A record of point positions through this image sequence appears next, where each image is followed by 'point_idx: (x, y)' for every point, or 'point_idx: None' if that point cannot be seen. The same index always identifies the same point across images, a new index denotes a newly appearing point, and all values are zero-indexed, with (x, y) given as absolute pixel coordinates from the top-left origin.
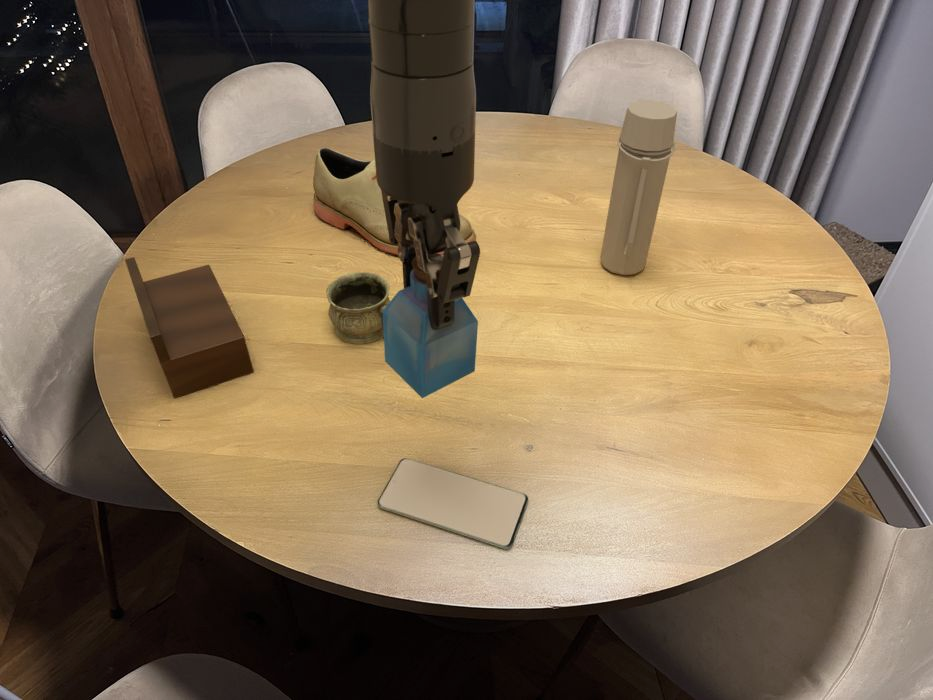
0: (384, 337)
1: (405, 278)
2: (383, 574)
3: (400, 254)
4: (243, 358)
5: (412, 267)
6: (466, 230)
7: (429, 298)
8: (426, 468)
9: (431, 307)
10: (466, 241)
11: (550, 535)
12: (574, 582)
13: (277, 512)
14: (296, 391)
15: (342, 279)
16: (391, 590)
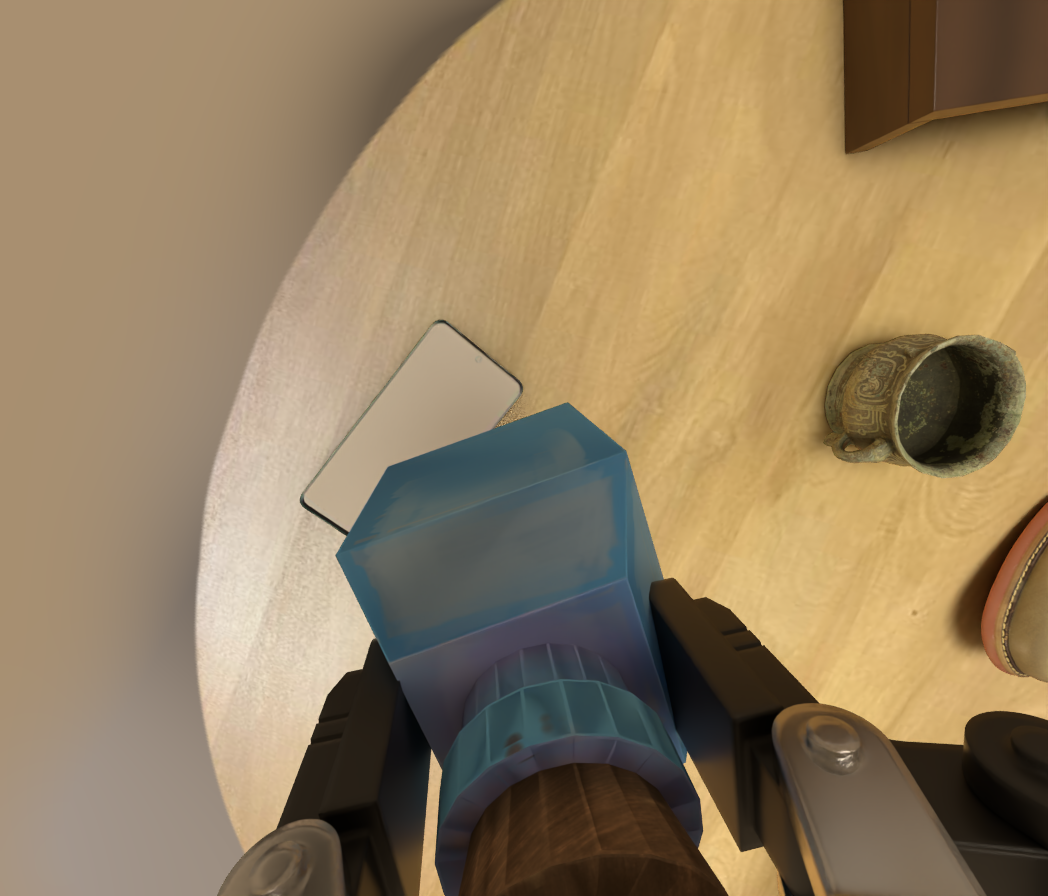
0: (585, 422)
1: (691, 645)
2: (308, 296)
3: (831, 755)
4: (881, 121)
5: (721, 737)
6: (1033, 670)
7: (353, 780)
8: (488, 420)
9: (343, 738)
10: (1002, 655)
11: (314, 564)
12: (227, 568)
13: (484, 138)
14: (758, 232)
15: (1014, 383)
16: (276, 301)
